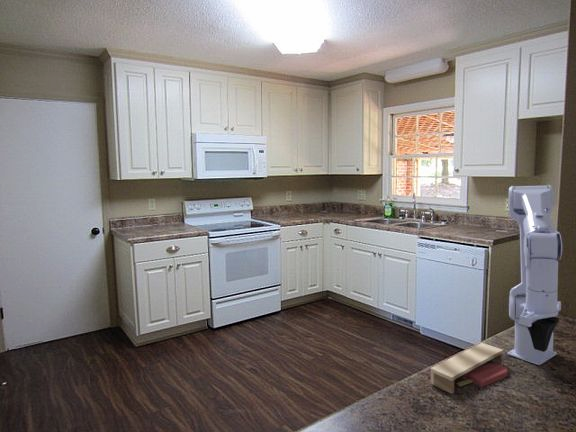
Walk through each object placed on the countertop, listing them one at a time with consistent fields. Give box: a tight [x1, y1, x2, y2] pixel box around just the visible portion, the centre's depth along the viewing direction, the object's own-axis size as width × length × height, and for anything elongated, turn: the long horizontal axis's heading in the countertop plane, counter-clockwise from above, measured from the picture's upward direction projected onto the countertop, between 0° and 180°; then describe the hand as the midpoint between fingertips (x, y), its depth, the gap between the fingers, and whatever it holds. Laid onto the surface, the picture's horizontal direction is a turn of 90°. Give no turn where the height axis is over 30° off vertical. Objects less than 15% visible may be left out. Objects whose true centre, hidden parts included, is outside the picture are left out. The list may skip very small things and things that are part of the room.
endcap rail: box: [430, 342, 504, 395], centre depth 98 cm, size 21×6×4 cm, turn 124°
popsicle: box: [456, 362, 509, 388], centre depth 96 cm, size 5×2×15 cm
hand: (540, 349), depth 89 cm, fingers closed
